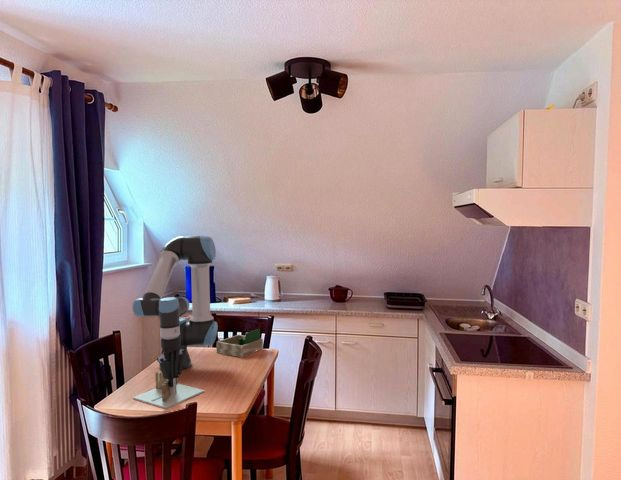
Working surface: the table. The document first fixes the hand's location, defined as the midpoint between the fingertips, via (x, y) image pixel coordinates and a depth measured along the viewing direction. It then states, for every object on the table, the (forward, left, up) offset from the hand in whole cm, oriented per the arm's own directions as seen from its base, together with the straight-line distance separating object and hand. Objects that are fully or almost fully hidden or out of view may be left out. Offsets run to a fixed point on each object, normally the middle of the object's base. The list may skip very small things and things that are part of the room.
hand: (173, 393), depth 178 cm
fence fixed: (-10, +4, -2) cm, 11 cm away
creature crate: (-21, +65, -2) cm, 68 cm away
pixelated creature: (-19, +67, -3) cm, 70 cm away
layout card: (-5, +2, -2) cm, 6 cm away
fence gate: (-2, -1, -1) cm, 3 cm away
